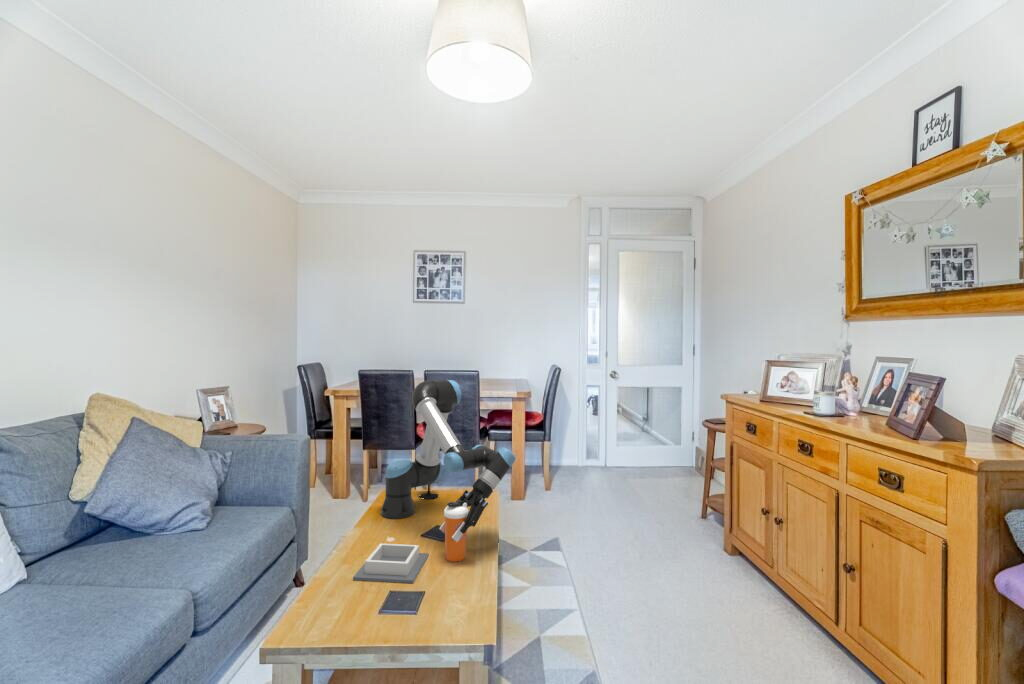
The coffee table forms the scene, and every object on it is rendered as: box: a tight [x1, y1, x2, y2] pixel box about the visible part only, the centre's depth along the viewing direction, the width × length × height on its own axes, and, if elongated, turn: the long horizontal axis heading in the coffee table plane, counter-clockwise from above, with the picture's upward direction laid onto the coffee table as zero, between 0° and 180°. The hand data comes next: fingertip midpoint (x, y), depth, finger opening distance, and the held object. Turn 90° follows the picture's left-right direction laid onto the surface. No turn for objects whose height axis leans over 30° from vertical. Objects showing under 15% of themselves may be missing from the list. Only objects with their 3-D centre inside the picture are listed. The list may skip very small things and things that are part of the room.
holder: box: [352, 543, 429, 584], centre depth 160 cm, size 20×20×5 cm
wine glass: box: [418, 484, 439, 500], centre depth 237 cm, size 10×10×20 cm
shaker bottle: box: [443, 499, 469, 563], centre depth 169 cm, size 9×9×20 cm
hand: (448, 535), depth 167 cm, fingers closed on shaker bottle, 9 cm apart
